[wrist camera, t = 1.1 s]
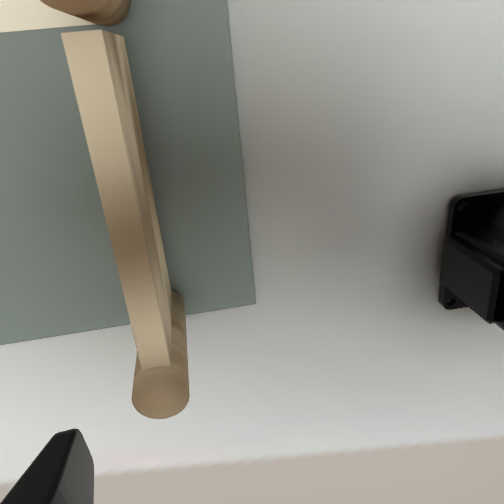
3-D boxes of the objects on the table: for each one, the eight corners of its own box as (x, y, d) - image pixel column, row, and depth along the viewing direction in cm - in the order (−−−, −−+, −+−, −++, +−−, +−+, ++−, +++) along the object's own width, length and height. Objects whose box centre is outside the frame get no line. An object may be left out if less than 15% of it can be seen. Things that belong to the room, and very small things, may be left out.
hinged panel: (82, 40, 16) (35, 34, 11) (137, 35, 16) (119, 26, 11) (146, 327, 22) (137, 423, 16) (187, 320, 22) (192, 413, 16)
